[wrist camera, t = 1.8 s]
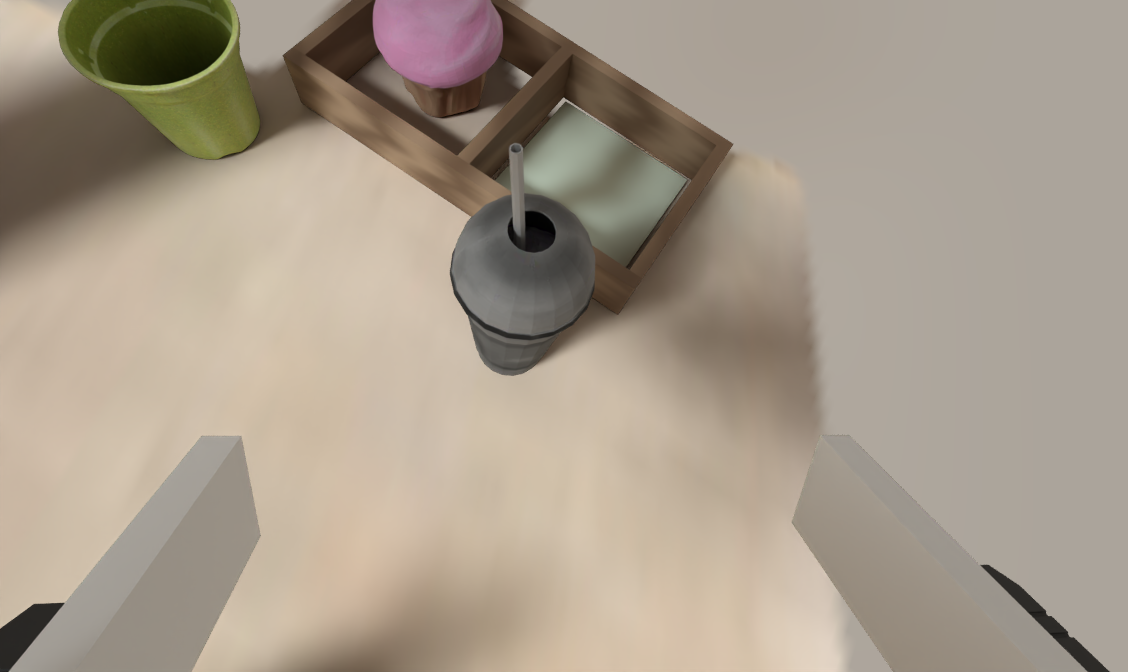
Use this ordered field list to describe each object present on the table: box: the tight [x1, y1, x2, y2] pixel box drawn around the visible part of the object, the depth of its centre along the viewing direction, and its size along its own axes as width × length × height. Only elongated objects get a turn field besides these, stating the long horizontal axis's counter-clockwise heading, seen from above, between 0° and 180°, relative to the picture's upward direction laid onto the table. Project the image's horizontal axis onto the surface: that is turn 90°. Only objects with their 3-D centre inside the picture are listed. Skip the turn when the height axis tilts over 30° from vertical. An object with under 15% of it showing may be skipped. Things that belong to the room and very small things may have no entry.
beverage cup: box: [450, 143, 595, 376], centre depth 29 cm, size 7×7×20 cm
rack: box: [283, 0, 733, 315], centre depth 42 cm, size 29×15×4 cm, turn 57°
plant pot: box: [58, 0, 260, 159], centre depth 36 cm, size 9×9×9 cm
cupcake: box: [373, 0, 503, 117], centre depth 39 cm, size 9×9×10 cm
